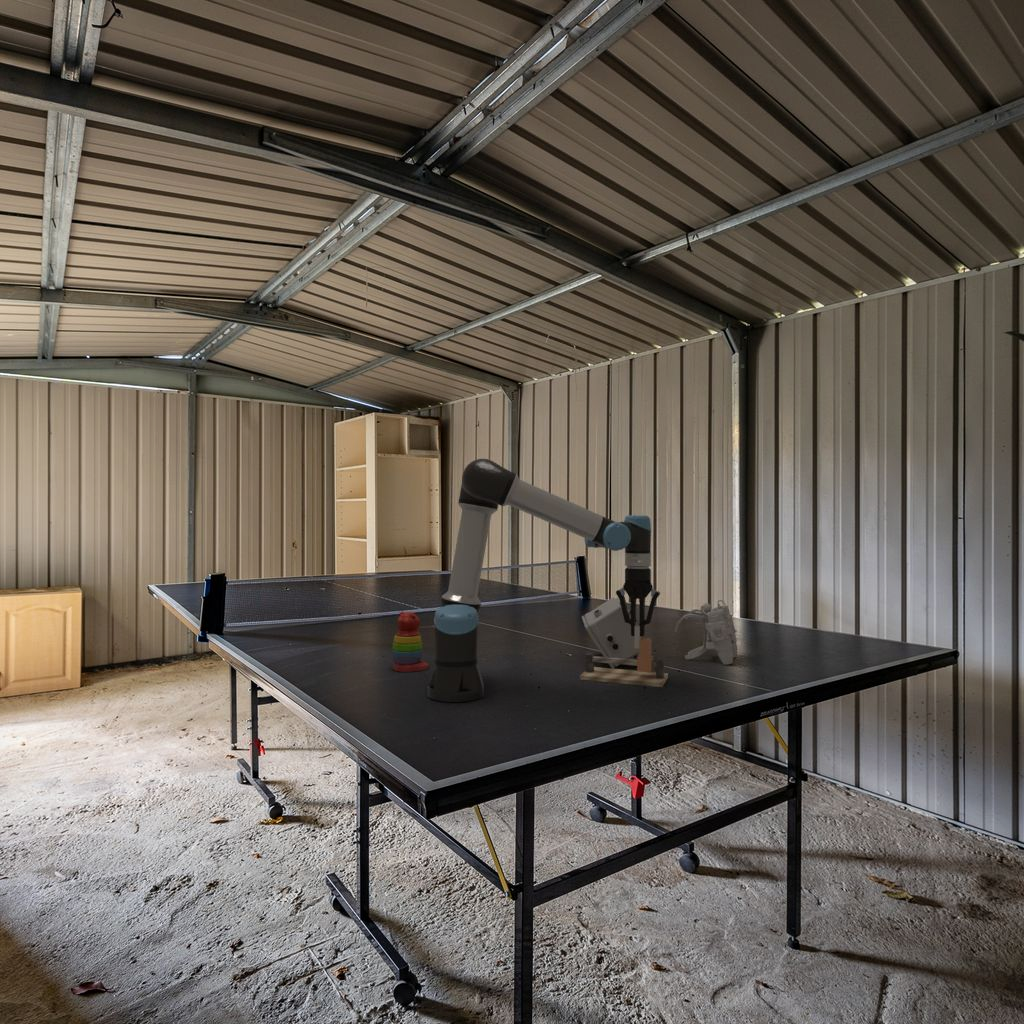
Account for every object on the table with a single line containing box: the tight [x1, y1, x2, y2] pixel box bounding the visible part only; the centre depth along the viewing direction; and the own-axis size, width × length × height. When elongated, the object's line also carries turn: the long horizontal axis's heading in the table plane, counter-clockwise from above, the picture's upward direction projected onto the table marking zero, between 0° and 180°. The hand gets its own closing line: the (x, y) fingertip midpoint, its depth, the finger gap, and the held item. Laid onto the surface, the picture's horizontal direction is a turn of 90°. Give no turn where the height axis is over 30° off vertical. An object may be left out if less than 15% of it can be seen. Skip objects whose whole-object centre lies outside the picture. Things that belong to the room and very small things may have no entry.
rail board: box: [579, 652, 669, 688], centre depth 195 cm, size 24×12×6 cm, turn 70°
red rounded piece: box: [391, 611, 430, 673], centre depth 207 cm, size 11×10×18 cm
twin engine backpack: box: [674, 599, 738, 665], centre depth 221 cm, size 18×19×20 cm
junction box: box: [581, 596, 643, 669], centre depth 216 cm, size 24×15×22 cm
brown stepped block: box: [636, 637, 654, 673], centre depth 193 cm, size 4×4×9 cm
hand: (637, 647), depth 193 cm, fingers closed
